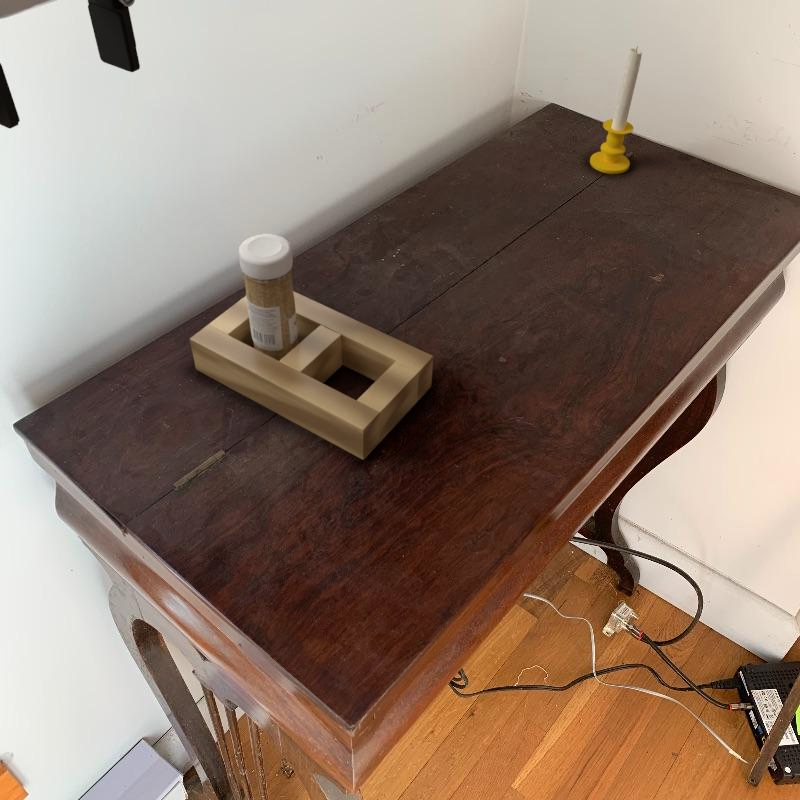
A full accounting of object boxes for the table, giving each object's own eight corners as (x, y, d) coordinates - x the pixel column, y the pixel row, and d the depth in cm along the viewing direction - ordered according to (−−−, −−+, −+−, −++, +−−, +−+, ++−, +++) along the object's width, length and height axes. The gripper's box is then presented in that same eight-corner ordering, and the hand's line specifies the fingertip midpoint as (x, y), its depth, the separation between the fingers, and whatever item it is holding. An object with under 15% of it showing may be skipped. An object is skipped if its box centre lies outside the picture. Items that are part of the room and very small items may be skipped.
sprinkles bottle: (310, 360, 79) (302, 246, 69) (276, 384, 77) (262, 269, 67) (278, 339, 81) (266, 225, 71) (244, 361, 79) (226, 247, 69)
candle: (623, 154, 109) (652, 37, 98) (633, 174, 105) (664, 55, 94) (585, 154, 109) (610, 37, 98) (594, 174, 105) (621, 55, 94)
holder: (363, 460, 70) (363, 430, 67) (195, 369, 78) (189, 338, 75) (431, 386, 77) (433, 356, 74) (271, 309, 84) (267, 278, 81)
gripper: (58, -270, 46) (124, 35, 58) (-254, -234, 36) (-95, 127, 48) (152, -256, 43) (200, 61, 56) (-157, -212, 33) (-14, 165, 45)
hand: (63, 91), depth 52 cm, fingers open, 9 cm apart
